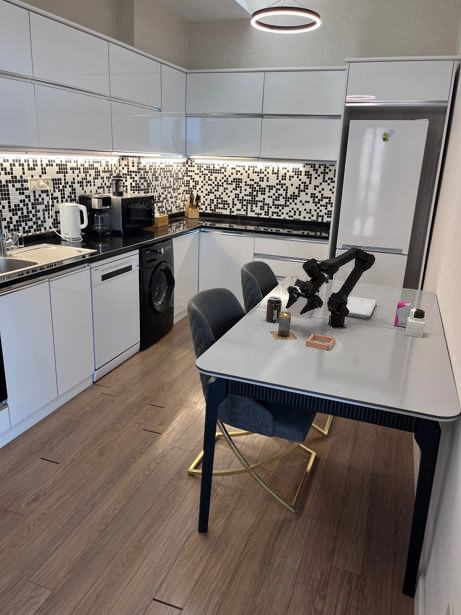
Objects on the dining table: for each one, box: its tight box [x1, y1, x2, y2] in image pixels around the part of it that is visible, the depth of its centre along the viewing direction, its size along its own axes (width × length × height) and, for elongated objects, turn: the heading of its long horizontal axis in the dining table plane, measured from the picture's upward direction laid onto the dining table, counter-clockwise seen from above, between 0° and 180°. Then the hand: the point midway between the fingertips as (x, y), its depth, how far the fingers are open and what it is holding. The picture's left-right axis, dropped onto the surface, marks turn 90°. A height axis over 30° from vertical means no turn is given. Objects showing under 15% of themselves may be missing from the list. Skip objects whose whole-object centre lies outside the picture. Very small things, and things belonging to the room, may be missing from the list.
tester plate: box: [269, 330, 298, 341], centre depth 201 cm, size 10×10×1 cm
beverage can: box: [265, 295, 283, 324], centre depth 217 cm, size 7×7×12 cm
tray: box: [346, 296, 377, 319], centre depth 245 cm, size 17×31×4 cm, turn 158°
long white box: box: [286, 286, 321, 319], centre depth 242 cm, size 32×11×11 cm, turn 161°
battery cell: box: [277, 311, 292, 337], centre depth 199 cm, size 5×5×10 cm
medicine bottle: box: [405, 308, 426, 338], centre depth 212 cm, size 7×7×12 cm
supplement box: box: [393, 301, 412, 329], centre depth 223 cm, size 6×6×12 cm
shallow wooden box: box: [305, 333, 337, 352], centre depth 192 cm, size 10×10×3 cm
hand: (293, 311), depth 200 cm, fingers open, 9 cm apart
